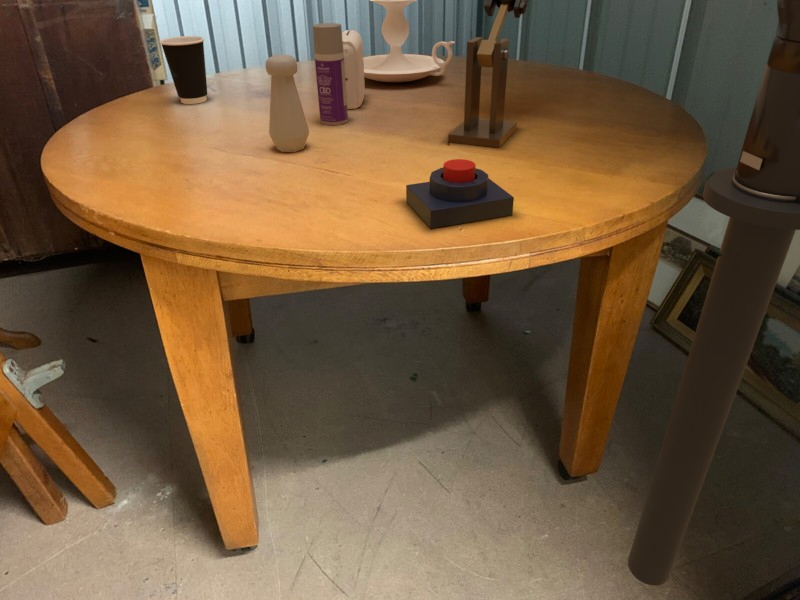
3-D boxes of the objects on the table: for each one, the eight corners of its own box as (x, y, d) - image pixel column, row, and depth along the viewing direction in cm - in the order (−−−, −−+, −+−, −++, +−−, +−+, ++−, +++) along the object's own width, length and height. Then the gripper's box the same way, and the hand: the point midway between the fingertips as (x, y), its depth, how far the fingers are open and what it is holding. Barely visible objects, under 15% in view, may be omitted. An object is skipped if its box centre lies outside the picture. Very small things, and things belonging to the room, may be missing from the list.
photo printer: (361, 109, 108) (357, 35, 101) (337, 109, 108) (332, 35, 102) (366, 95, 117) (363, 26, 110) (344, 95, 117) (340, 26, 110)
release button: (466, 171, 70) (467, 157, 69) (480, 182, 67) (481, 167, 66) (438, 175, 69) (438, 161, 68) (450, 186, 66) (451, 171, 65)
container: (319, 125, 100) (310, 27, 92) (321, 118, 104) (313, 23, 96) (347, 124, 100) (341, 26, 92) (348, 117, 104) (342, 22, 96)
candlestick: (422, 98, 114) (422, -76, 99) (328, 82, 127) (315, -74, 112) (479, 78, 128) (487, -78, 113) (389, 65, 141) (385, -76, 126)
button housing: (482, 190, 75) (483, 159, 72) (512, 215, 68) (515, 181, 66) (406, 202, 72) (405, 170, 70) (430, 229, 65) (430, 194, 63)
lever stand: (468, 124, 99) (472, 33, 91) (516, 129, 96) (524, 36, 89) (448, 142, 91) (450, 44, 84) (499, 147, 88) (506, 47, 81)
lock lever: (500, 0, 94) (498, -20, 90) (523, 1, 92) (521, -20, 89) (474, 69, 89) (471, 50, 86) (498, 71, 88) (495, 51, 84)
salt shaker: (268, 144, 92) (256, 54, 85) (305, 140, 93) (295, 50, 86) (276, 156, 87) (263, 61, 80) (314, 151, 89) (305, 57, 82)
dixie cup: (223, 97, 117) (213, 37, 112) (196, 107, 111) (184, 44, 106) (191, 94, 120) (179, 35, 114) (163, 104, 114) (149, 41, 108)
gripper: (483, -105, 92) (452, -6, 89) (577, -107, 86) (547, -2, 84) (491, -66, 98) (463, 27, 96) (579, -66, 93) (551, 32, 91)
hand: (502, 12), depth 90 cm, fingers closed on lock lever, 3 cm apart
